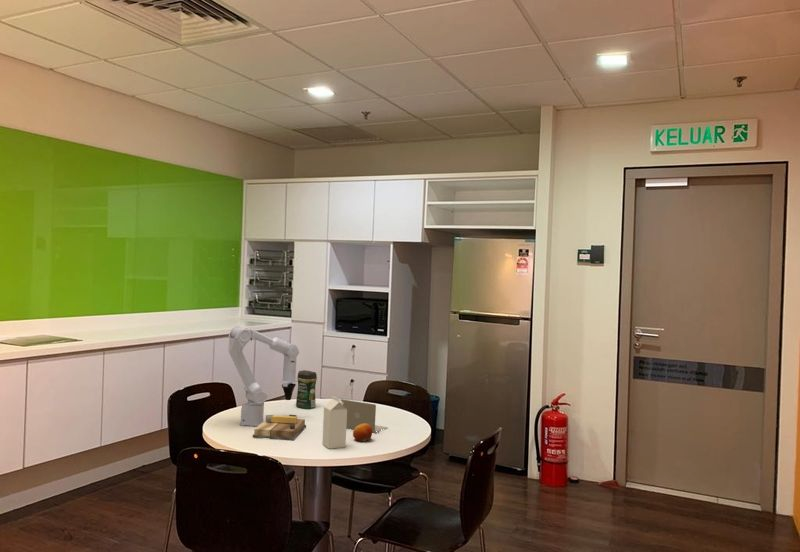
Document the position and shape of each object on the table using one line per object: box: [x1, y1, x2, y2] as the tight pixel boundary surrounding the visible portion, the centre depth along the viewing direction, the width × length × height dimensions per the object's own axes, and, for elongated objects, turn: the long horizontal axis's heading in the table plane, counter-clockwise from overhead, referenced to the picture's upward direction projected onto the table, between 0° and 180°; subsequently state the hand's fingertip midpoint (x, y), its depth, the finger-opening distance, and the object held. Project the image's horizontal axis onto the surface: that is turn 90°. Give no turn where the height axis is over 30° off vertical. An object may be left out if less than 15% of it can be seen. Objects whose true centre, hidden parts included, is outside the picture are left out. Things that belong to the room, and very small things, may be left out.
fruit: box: [352, 423, 373, 443], centre depth 243 cm, size 8×8×8 cm
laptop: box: [340, 398, 388, 434], centre depth 263 cm, size 18×12×13 cm
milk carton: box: [321, 395, 347, 450], centre depth 233 cm, size 7×7×19 cm
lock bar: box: [265, 414, 298, 424], centre depth 251 cm, size 13×3×2 cm, turn 88°
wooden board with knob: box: [252, 414, 307, 441], centre depth 249 cm, size 17×22×6 cm
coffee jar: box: [295, 369, 318, 410], centre depth 299 cm, size 10×8×19 cm
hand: (288, 399), depth 270 cm, fingers closed
